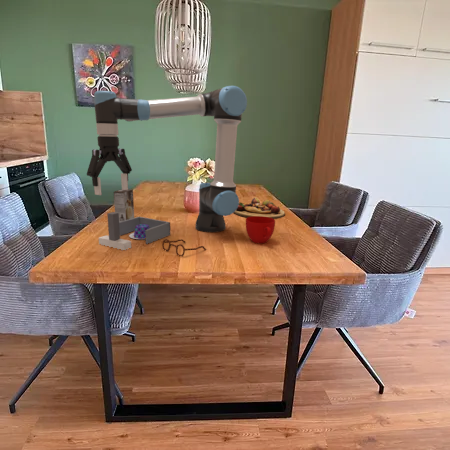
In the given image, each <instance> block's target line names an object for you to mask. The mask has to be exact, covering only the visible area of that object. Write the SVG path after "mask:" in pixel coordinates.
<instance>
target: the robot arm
mask: <svg viewBox="0 0 450 450" xmlns="http://www.w3.org/2000/svg"><path fill="white" fill-rule="evenodd" d="M93 98H94V99H93V101H94V113H95V115H94V116H95V122H96V125H95V126H96V134H97V135H98V136H97V137H96V139H97V146H98V148H99V149H95V148H94V149H93V148H92V150H91V159H90V162H89V164H88V168H87V170H86V171H87V172H86V176H88V177H91V179H92V181H91V182H92V186H93V189H94V195H95V196H96V195H97V196H102V182H101V176H100V174H101V172H102V170H103V168H104V167H105V165H106V163H108V162H114V164H116V166H117V167H118V168H119V170H120V171H121V173H120V181H121V189H122V190H128V189H129V185H128V184H129V174H131V172H132V171H133V169H132V166H131V165H130V162H129V159H128V157H127V155H126V151H125V150H126V149H125V148H119V146H120V139H119V124H118V120H119V121H120V120H123V121H124V120H125V122H135V121H136V122H137V121H141V122H142V121H149V120H154V119H165V118H167V119H168V118H175V117H185V116H196V115H199V116H200V117H213V120H214V122H215V123H216V125H217V126H216V140H215V157H214V171H213V172H214V174H213V175H214V176H213V180H212V181H211V182H201V183H200V184H199V187H198V188H199V189H198V192H199V195H198V197H199V198H198V203H199V204H198V216H197V217H196V221H195V227H194V228H195V230H197V231H200V232H204V233H205V232H206V233H218V232H222V231H225V230H226V220H225V218H224V217H227V216H230V215H232V214H234V212H235V211H236V209H237V208H238V205H239V202H240V199H239V196H238V195H237V185H236V183H235V182H234V173H235V163H236V161H235V159H236V148H237V147H236V146H237V133H238V126H239V124H241V123H242V119H243V113H245V111H246V109H247V108H248V107H247V106H248V99H247V95H246V93H245V92H244V91H243V89H242V88H241V87H239V86H237V85H226V86H224V87H221V88H217V89H215V90H212V91H209V92H204V93H199V94H197V96H185V97H172V98H171V97H170V98H158V99H147V100H146V99H140V98H119V97H117V95H116V93H115V92H114V91H111V90H110V91H109V90H97V91H95V92H94V95H93ZM99 176H100V177H99Z"/></svg>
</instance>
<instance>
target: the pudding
mask: <svg viewBox="0 0 450 450" xmlns="http://www.w3.org/2000/svg"><path fill="white" fill-rule="evenodd" d="M147 229H150V227H149V225H147V224H139V225H137V226H136V227H135V231H133V232H130V233H129V235H128V237H129V238H131V239H136V240H146V239H145V238H146V234H145V230H147Z"/></svg>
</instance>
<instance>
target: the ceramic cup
mask: <svg viewBox="0 0 450 450" xmlns="http://www.w3.org/2000/svg"><path fill="white" fill-rule="evenodd" d="M275 225H276V219H273V218H269V217H264V216H252V217H248V218H247V217H245V230H246V234H247V236H248V238H249V239H250V240H251V242H253V244H254V243H256V244H265V243H267V242H268V241H269V240H270V239H271V237H272V236H273V234H274V231H275Z"/></svg>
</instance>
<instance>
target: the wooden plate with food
mask: <svg viewBox="0 0 450 450" xmlns="http://www.w3.org/2000/svg"><path fill="white" fill-rule="evenodd" d="M233 214H235V215H237V216H240V217H242V218H248V217H252V216H264V217H269V218H273V219H274V220H276V219H281V218H283V217H285V216H286V213H285V211H284V210H283V209H281V208H280V206H277V205H276V204H274V202H273V201H270V200H269V199H265V200H263V201H262V202H260V200H259V198H258V197H253V198H252V200H251V202H250V203H248V202H241V201H239V205H238V208H237V209H236V211H235V212H233Z"/></svg>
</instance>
